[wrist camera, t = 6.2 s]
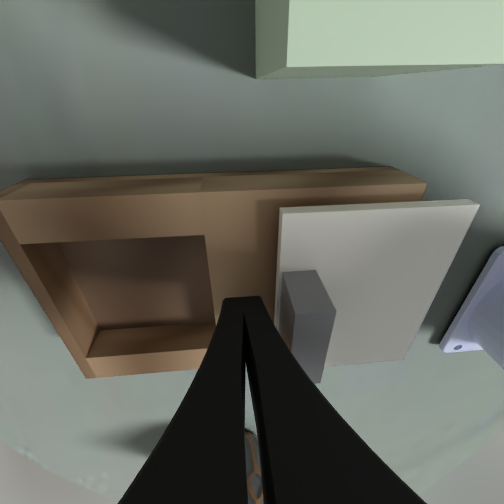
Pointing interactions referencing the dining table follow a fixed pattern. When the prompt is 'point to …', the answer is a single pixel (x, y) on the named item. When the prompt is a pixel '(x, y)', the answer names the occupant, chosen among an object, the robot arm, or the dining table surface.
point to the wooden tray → (163, 253)
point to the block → (375, 37)
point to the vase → (253, 469)
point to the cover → (362, 277)
